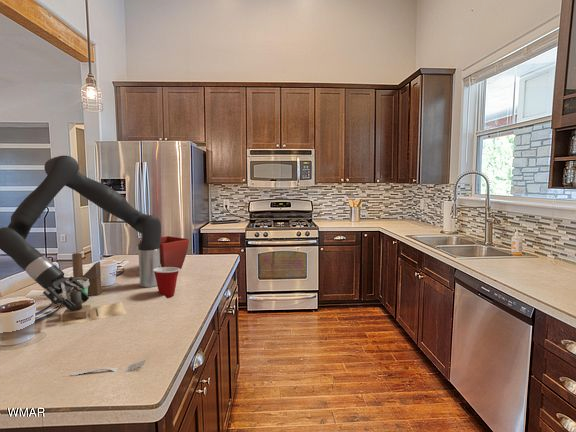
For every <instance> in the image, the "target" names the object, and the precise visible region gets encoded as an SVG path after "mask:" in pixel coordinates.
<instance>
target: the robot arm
mask: <svg viewBox="0 0 576 432" xmlns="http://www.w3.org/2000/svg"><path fill="white" fill-rule="evenodd" d="M44 171H45V174H46V176H45V178H44V179H43V181H42V182H41V183H40V184H39V185H38V186H37V187H36V188H35V189H33V191H32V192H31V193H29V194H28V195H27V196H26V197H25V198H24V199H23V201H22V202H21V203H20V204H19V205H18V207H17V208H15V210H14V212H13V213H12V214H11V216H10V222H9V224H8V226H7V227H0V250H1V251H2V252H3V253H5V254H6V255H7V256H8V257H10V258H11V259H12V260H13V262H15V263H16V264H17V265H18V267H20V268H22V270H23V271H25V273H26V274H27V275H28V276H29V277H30V279H33V281H35V282H36V283H37V284H38V285H40V287H41V288H43V292H42V294H43V295H45V296H46V298H48V300H50V301H51V302H52V303H53V304H54V305H55V306H57V305H58V304H60V305H63V307H64V308H66V309H69V310H73V309H74V308H75V307H76V305H75V304H74V303H73V302H71V301H70V300H69V299H67V297H66V294H67V293H71V292H75V291H74V290H76V291H81V299H82V300H83V301H84V302H85V303H87V302H86V301H89V299H90V295H87V294H86V293H84V292H83V291H82V290H83V288H84V286H83V285H82V284H81V283H79V282H78V281H77V280H76V279H75V278H73V276H70V277H69V279H68V278H66V277H65V272H64V271H63V270H61V269H60V268H59V267H58V266H57V265H56V264H55V263H54V262H53V261H51V259H48V258H47V257H45V256H44V254H42V253H41V252H40V251H39V250H37V248H35V247H33V246H32V245H31V244H30V243H28V241H27V240H26V239H27V238H28V236H29V233H30V231H31V229H32V227H33V226H34V224H36V222H37V220H39V218H40V217H41V215H42V214H43V213H44V211H46V209H47V207H48V206H49V205H50V204H51V202H52V201H53V199H54V198H55V197H56V196H57V195H58V194H59V193H60V192H61V190H62V189H63V188H65V187H67V188H69V189H71V190H73V191H75V192H76V193H78V195H81V196H82V197H84V198H85V199H87V200H88V201H90V202H91V203H93V204H95V205H96V206H97V207H99V208H101V209H102V210H103V211H105V212H107V213H108V214H111V215H112V216H114V217H116V218H118V219H120V220H122V221H123V222H125V223H126V224H128V225H129V226H130V227H131V228H133V229H134V230H135V231H136V232H138V233H139V234H141V240H142V241H141V242H140V241H139V243H138V244H137V246H138V247H137V248H138V249H137V250H138V269H139V286H140V287H142V288H152V287H158V286H157V282H156V277H155V273H154V271H153V269H155V268H161V264H160V250H159V245H160V242H161V237H162V224H161V220H160V219H159V217H158V216H156V215H152V214H145V213H143V212H141V211H139V210H137V208H134V207H133V206H132V205H131V204H130V203H129V202H128V200H127V199H126V198H125V197H124V196H123V195H122V194H121V193H119V192H118V191H116V190H114V188H112V187H110V186H108V185H106V184H104V183H102V182H100V181H96V180H95V179H92V178H90V177H87V176H85V175H84V174H82V173H81V172H80V165H79V162H78V161H77V160H76V159H75V158H74V157H73V156H71V155H58V156H56V157H52V158H50V159H48V160H46V162H45V163H44ZM67 279H68V280H67ZM77 285H78V286H79V287H77Z"/></svg>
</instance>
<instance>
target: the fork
mask: <svg viewBox="0 0 576 432" xmlns="http://www.w3.org/2000/svg"><path fill="white" fill-rule="evenodd" d="M146 361H147V359H143V360H141V361H137V362H134V363H132V364H128V365H125V367H124V369H123V371H122V372H123V373H126V372H130V371H132V370H135V369H138V368H140V367H141V366H145V364H146ZM118 368H119V367H100V368H95V369H89V370H83V371H77V372H76V371H75V372H71V373H72V375H76V376H79V374H80V375H84V373H85V374H90V373H92V372H93V373H94V372H97V371H103V370H108V371H112V372H113V373H116V372H117V371H118Z"/></svg>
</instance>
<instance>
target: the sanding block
mask: <svg viewBox="0 0 576 432" xmlns="http://www.w3.org/2000/svg"><path fill="white" fill-rule="evenodd" d="M70 297H71V302H73V303H74V304H75V305H76V307H75V308H74V309H73V310H69V309H67V308H66V309H65V310H64V311H63V312H64V313H63V314H62V316H63V321H69V320H77V319H85V318H87V316H88V315H89V313H90V311H91V310H90V308H91V304H84V305H83V304H82V299H81V291H75V292H71V293H70Z"/></svg>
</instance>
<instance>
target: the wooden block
mask: <svg viewBox="0 0 576 432" xmlns="http://www.w3.org/2000/svg"><path fill="white" fill-rule="evenodd" d="M71 260H72V275H73V276H72V277H73V278H78V277H81V278H87V279H88V280H89V283H90V285H89V286H88V296H98V295H100V294H102V278H101V276H102V275H101V261H97V262H95V263H94V264H93V265H92V266H91V267H90V268H89V269H88V270H87V271H86V272H85V273H84V268H83V266H84V265H83V254H82V252H74V253H72V255H71Z"/></svg>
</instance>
